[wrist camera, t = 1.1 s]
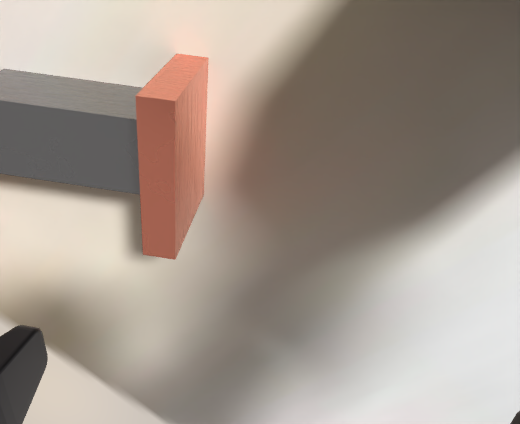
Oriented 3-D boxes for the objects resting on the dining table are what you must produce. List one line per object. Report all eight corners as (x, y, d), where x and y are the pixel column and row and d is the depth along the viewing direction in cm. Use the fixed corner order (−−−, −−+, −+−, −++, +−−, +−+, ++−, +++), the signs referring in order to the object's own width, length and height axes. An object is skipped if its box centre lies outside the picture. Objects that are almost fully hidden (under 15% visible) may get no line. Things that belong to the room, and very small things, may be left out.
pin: (208, 57, 19) (175, 101, 15) (203, 194, 22) (175, 259, 18) (-3, 29, 19) (-89, 64, 15) (23, 167, 22) (-42, 225, 18)
